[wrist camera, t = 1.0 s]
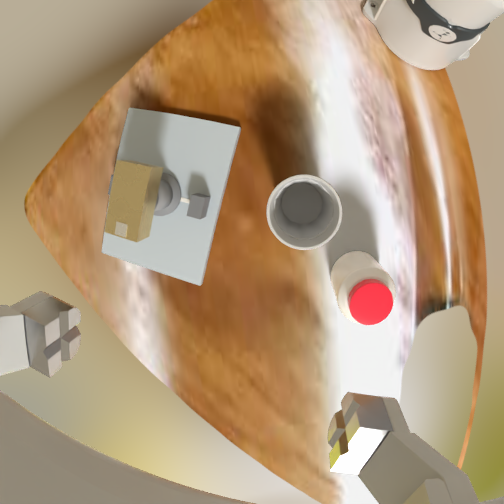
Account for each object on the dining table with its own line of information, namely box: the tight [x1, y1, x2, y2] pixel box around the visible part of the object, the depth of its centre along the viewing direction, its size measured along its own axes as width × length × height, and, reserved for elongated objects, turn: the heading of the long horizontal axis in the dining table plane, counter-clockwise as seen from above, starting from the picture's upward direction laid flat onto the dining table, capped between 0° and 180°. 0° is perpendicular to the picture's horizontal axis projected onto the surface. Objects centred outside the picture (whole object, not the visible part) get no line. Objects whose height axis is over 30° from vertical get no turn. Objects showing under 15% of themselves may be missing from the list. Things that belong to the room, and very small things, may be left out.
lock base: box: [102, 108, 241, 286], centre depth 43 cm, size 24×18×7 cm
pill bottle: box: [331, 251, 396, 325], centre depth 41 cm, size 8×8×11 cm
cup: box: [267, 174, 342, 250], centre depth 39 cm, size 8×8×12 cm
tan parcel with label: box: [104, 160, 164, 242], centre depth 37 cm, size 9×5×5 cm, turn 165°
